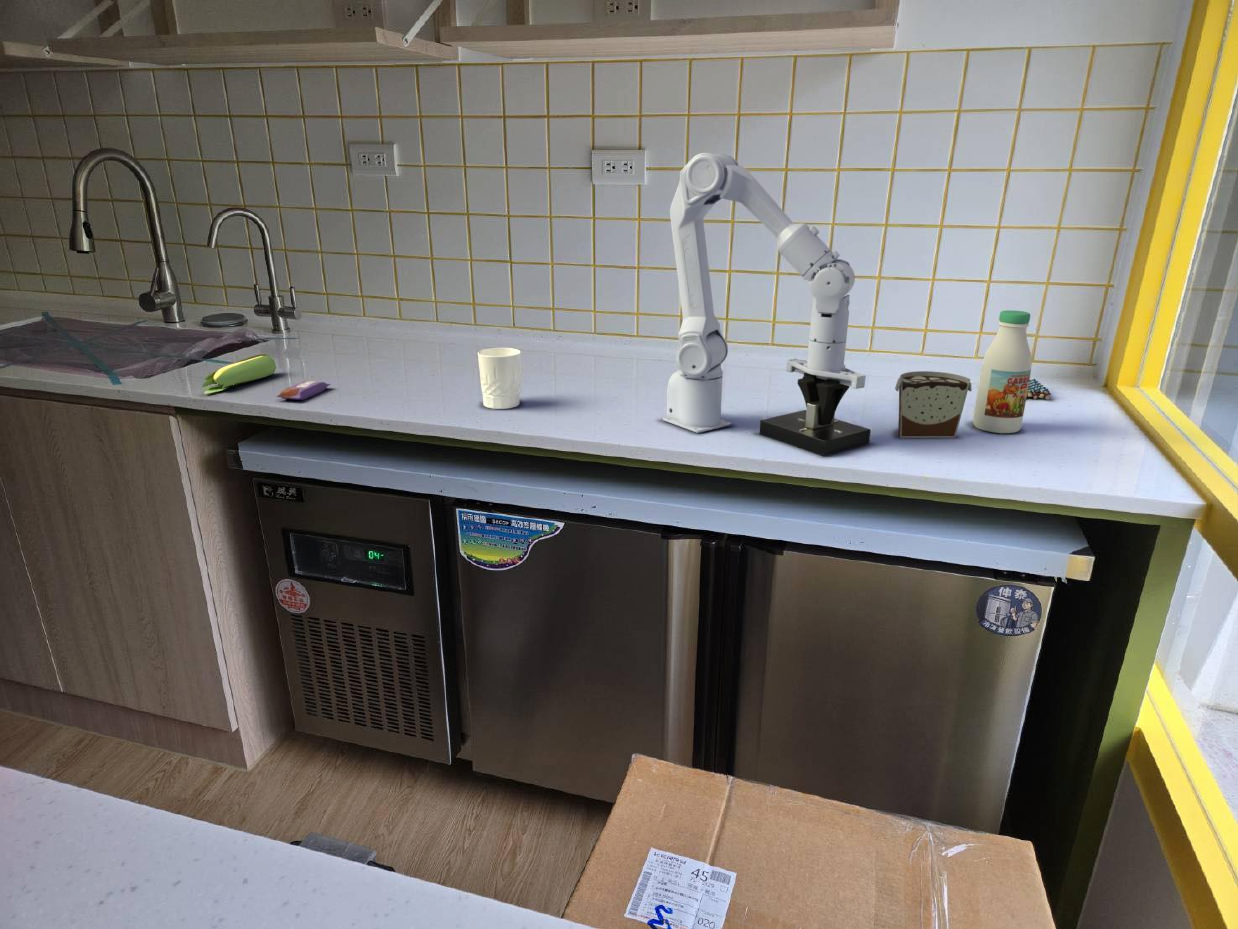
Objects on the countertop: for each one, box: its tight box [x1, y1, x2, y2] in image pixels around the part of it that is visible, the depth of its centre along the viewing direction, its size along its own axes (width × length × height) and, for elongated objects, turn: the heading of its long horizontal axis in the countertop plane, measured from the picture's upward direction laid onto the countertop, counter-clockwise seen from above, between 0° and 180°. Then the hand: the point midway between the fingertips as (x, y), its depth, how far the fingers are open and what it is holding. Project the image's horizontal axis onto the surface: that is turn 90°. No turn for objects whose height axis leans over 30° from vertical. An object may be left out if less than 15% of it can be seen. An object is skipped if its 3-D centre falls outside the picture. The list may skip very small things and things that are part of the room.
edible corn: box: [201, 353, 277, 395], centre depth 166 cm, size 5×20×5 cm, turn 163°
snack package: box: [275, 380, 332, 401], centre depth 159 cm, size 12×2×5 cm
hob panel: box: [759, 409, 872, 457], centre depth 135 cm, size 14×11×3 cm
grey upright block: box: [805, 401, 836, 429], centre depth 133 cm, size 5×2×4 cm, turn 126°
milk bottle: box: [972, 309, 1033, 434], centre depth 139 cm, size 8×8×20 cm
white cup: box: [477, 347, 522, 410], centre depth 152 cm, size 8×8×10 cm
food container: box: [894, 370, 973, 439], centre depth 138 cm, size 12×6×10 cm, turn 92°
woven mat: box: [1026, 378, 1052, 401], centre depth 164 cm, size 10×11×2 cm
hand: (819, 422), depth 133 cm, fingers closed on grey upright block, 2 cm apart
